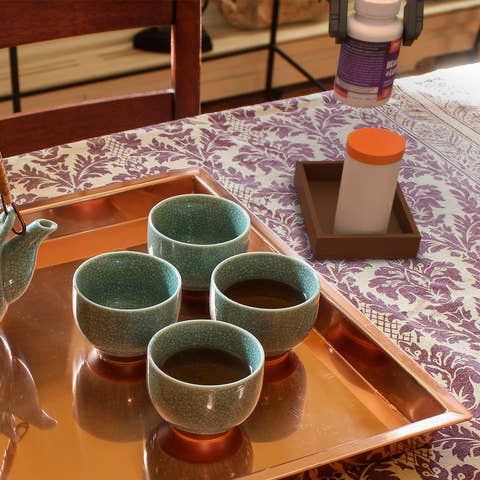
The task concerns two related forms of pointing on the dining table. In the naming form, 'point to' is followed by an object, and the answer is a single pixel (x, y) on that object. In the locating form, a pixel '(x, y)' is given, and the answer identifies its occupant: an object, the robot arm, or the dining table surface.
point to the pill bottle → (369, 54)
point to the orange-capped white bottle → (368, 181)
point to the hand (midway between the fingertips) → (374, 41)
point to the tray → (324, 210)
